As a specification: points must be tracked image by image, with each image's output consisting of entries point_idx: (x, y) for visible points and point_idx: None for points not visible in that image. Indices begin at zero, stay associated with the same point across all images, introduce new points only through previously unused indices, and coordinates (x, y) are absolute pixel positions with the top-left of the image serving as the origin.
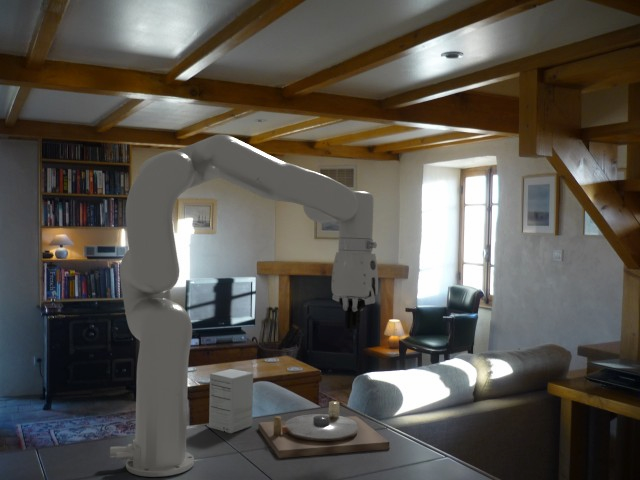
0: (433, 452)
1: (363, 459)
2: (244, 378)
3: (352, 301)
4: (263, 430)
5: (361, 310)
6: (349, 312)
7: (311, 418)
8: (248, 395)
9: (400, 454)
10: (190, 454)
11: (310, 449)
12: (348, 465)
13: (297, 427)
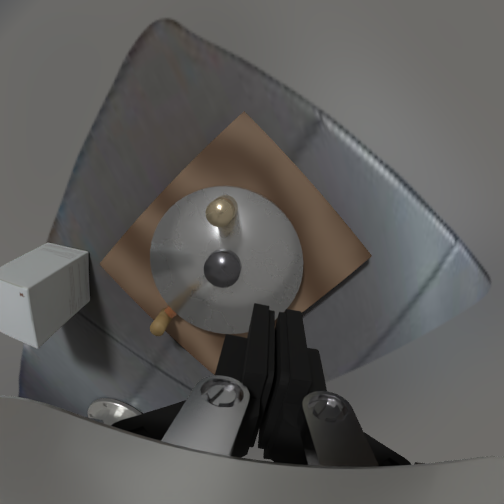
0: (438, 231)
1: (340, 320)
2: (36, 313)
3: (229, 455)
4: (130, 294)
5: (336, 402)
6: (253, 442)
7: (185, 238)
8: (56, 286)
9: (391, 268)
10: (129, 411)
11: None
12: (325, 351)
13: (194, 308)
